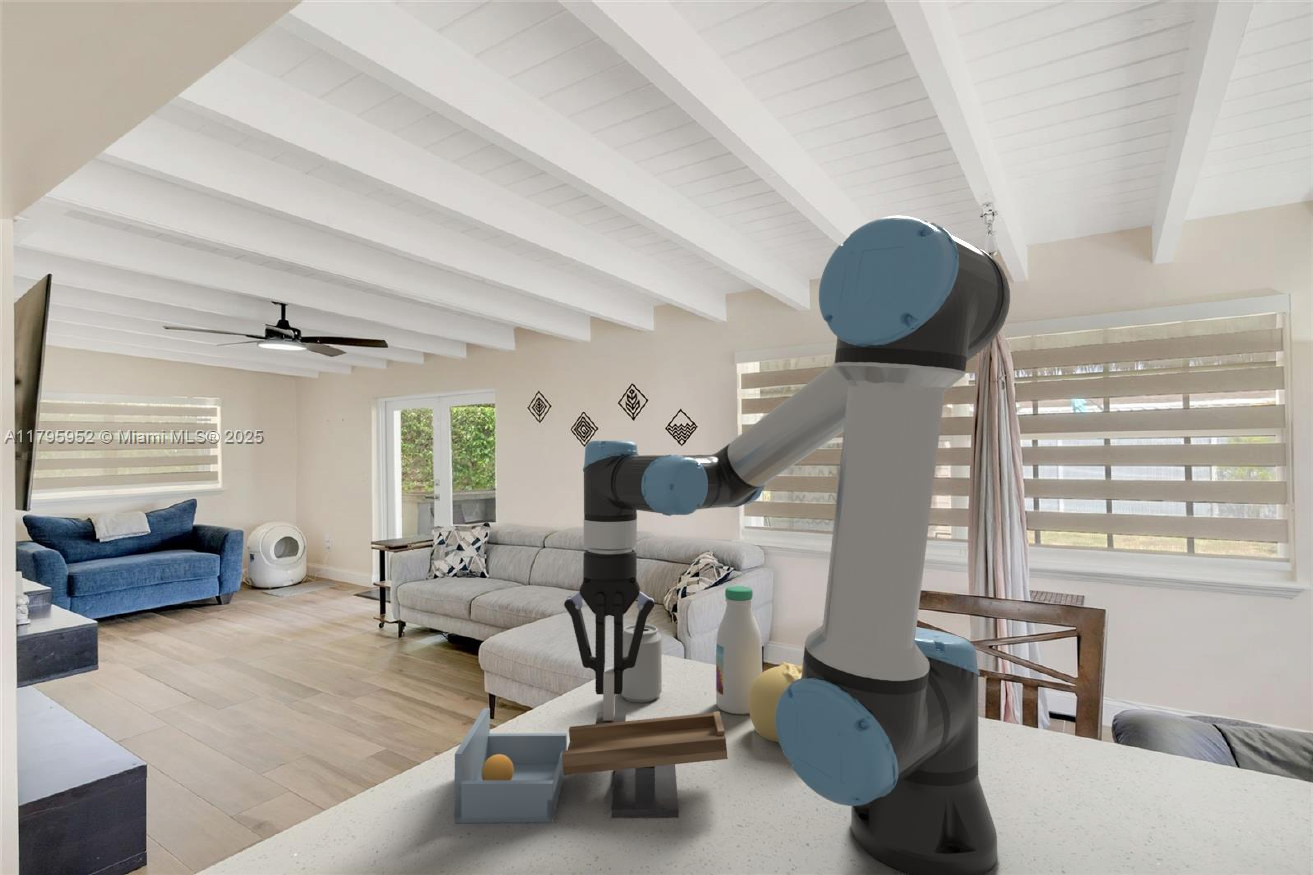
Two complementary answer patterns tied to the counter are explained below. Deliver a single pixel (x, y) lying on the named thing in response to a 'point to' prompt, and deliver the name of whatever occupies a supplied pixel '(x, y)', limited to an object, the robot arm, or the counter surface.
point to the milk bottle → (737, 652)
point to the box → (531, 782)
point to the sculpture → (770, 697)
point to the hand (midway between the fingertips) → (609, 716)
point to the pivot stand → (645, 793)
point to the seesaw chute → (644, 742)
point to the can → (643, 666)
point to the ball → (497, 768)
